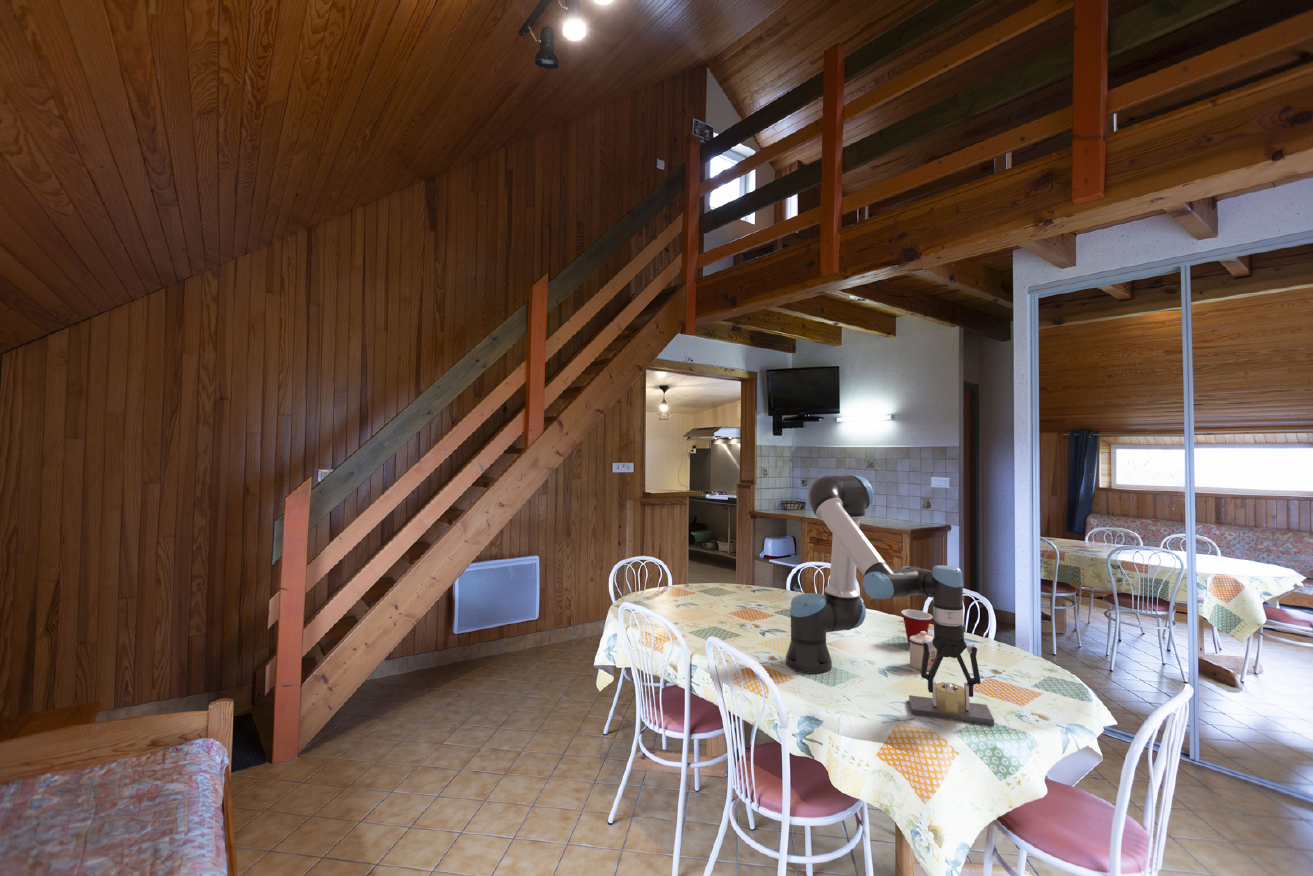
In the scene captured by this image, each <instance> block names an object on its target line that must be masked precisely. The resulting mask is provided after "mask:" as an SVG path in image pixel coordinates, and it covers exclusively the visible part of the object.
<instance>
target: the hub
mask: <svg viewBox="0 0 1313 876" xmlns="http://www.w3.org/2000/svg"><path fill="white" fill-rule="evenodd" d="M946 683H948V684H952V685H954V691H953V690H947V689H945V684H946ZM936 701H937V706H936V707H937V708H938V709H941V710H943V711H945V712H950V713H961V712H965V690H964V686H961V685H959V684H956V683H955V682H954V683H951V682H943V681H941V682H936Z"/></svg>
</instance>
